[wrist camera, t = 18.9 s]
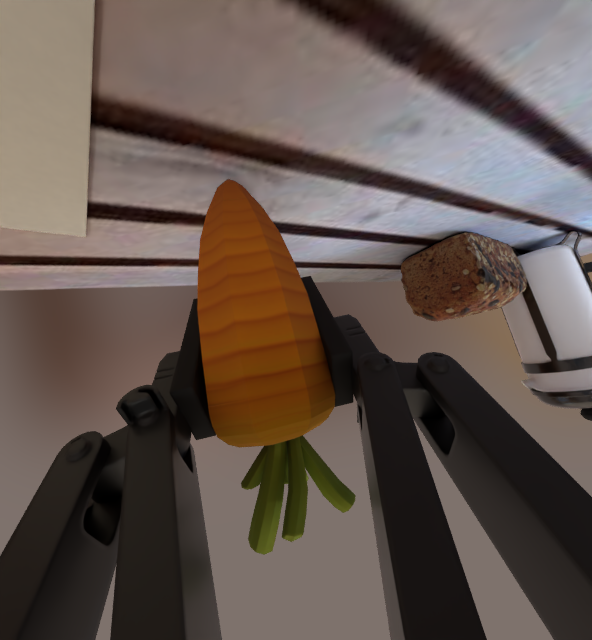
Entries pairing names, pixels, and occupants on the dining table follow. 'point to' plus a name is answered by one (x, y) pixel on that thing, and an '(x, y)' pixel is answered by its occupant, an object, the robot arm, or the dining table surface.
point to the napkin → (45, 114)
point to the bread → (462, 277)
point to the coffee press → (555, 326)
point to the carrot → (263, 361)
